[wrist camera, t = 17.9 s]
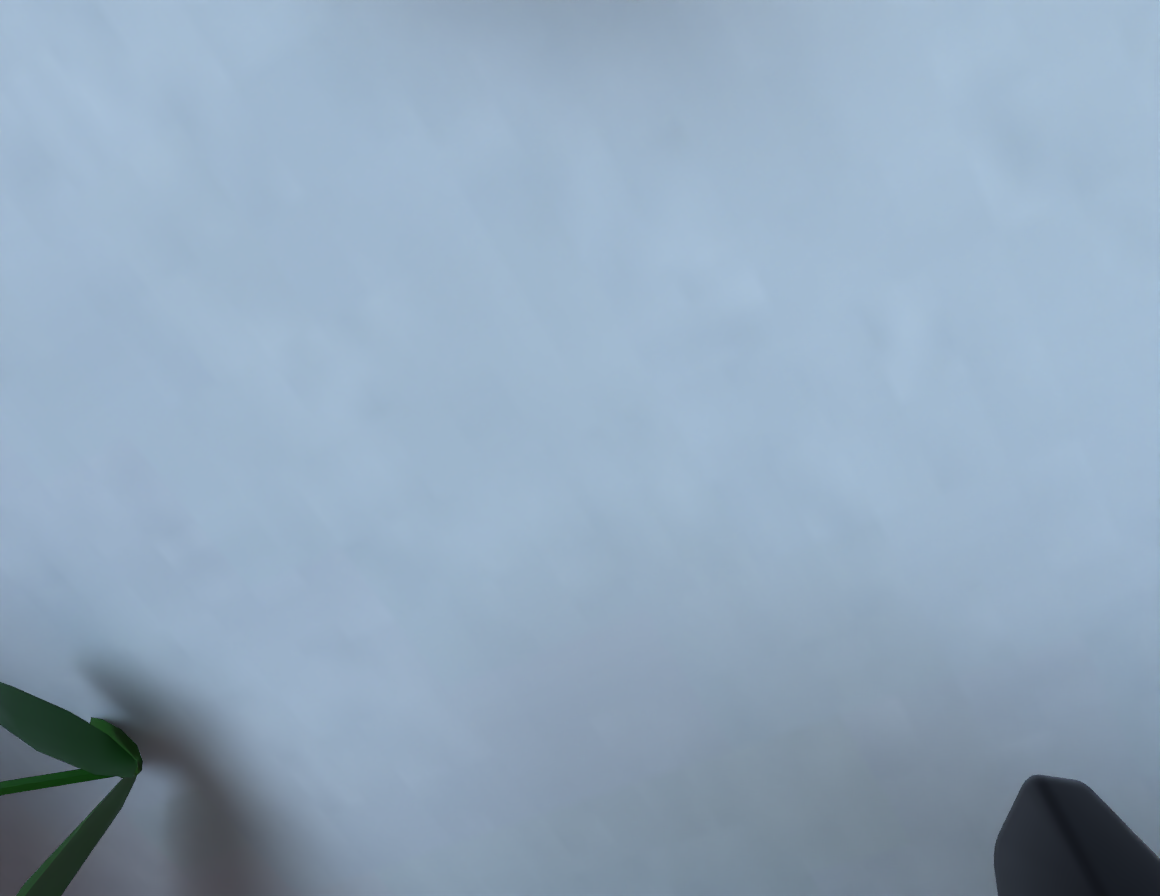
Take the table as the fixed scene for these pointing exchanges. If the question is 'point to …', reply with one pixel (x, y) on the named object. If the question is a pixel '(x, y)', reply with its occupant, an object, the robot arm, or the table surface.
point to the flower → (69, 775)
